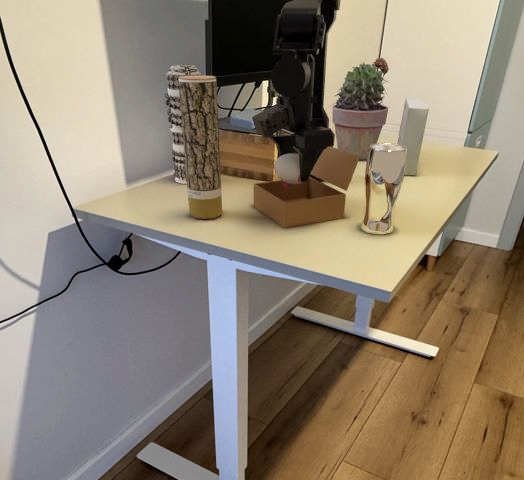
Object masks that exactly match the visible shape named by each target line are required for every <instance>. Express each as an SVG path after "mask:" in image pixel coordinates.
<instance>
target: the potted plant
mask: <svg viewBox="0 0 524 480" xmlns="http://www.w3.org/2000/svg"><path fill="white" fill-rule="evenodd" d="M388 65H389V64H388V62H387V61H386V59H384V57H377V58H376V59H375V60H374V61H373V63H372V64H370V63H365V62H362V63H359V66H352V69H353V70H352V71H347V73H346V74H345V77H344V81H343V83H342V86H340V88H339V91H338V93H337V94H335V95H333V96H332V98H334V97H337V96H338V98H337V99H336V101H335V102H334V103H333V106H332V115H331V116H332V118H331V119H332V120H331V121H332V124H334V131H335V140H336V148H337V149H339V150H342V151H345V152H348V153H350V154H353V155H356V156H359V157H360V158H359V161H367V157H368V152H369V146H370V145H372V144H376V143H378V141H379V138H380V135H381V132H382V130H383V126H385V125H386V123H387V117H388V113H389V109H390V107H388V106H387V105H384V104H383V100H384V99H385V94H386V96H387V97H389V96H388V93H387V91H386V89H385V86H384V84H385V83H388V80H385V79H384V77H385V75H386V74H387V73H388V72H389V66H388ZM378 69H379V70H378ZM383 81H384V82H383ZM390 83H391V82H390ZM391 84H392V83H391ZM332 92H333V91H332ZM384 92H385V93H384ZM382 95H383V96H382ZM329 107H331V105H329V106H328V107H327V108H326V109H328V108H329Z"/></svg>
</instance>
